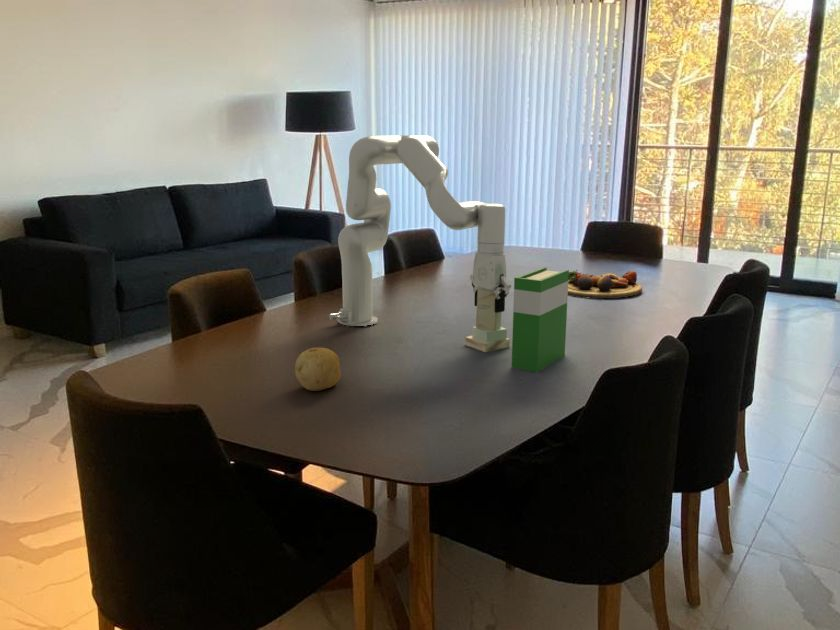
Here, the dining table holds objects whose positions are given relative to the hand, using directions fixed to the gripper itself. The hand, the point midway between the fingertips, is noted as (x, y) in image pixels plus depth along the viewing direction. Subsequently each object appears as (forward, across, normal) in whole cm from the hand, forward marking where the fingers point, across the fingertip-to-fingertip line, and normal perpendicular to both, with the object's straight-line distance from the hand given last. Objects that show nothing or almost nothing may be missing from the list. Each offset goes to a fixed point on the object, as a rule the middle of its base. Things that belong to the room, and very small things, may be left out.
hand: (489, 308), depth 221 cm
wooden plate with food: (+12, -36, +83) cm, 91 cm away
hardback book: (+11, +19, +2) cm, 22 cm away
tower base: (+12, 0, 0) cm, 12 cm away
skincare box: (+6, 0, 0) cm, 6 cm away
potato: (+11, +5, -57) cm, 58 cm away
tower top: (+9, 0, 0) cm, 9 cm away
